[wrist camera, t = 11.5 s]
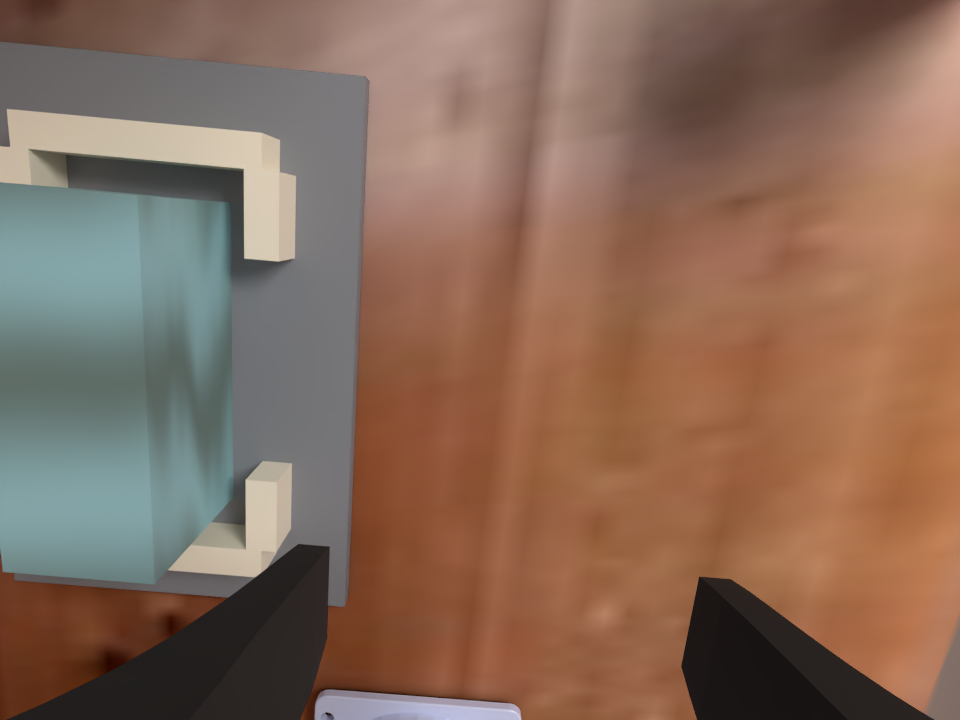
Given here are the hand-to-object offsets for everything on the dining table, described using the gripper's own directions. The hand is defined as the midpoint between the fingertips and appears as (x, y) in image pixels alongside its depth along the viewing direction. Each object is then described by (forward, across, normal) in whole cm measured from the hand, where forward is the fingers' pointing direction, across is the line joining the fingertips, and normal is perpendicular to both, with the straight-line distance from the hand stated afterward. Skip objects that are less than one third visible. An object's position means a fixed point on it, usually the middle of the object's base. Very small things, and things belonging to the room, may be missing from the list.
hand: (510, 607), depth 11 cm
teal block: (+9, +11, -2) cm, 14 cm away
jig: (+9, +11, -2) cm, 15 cm away
